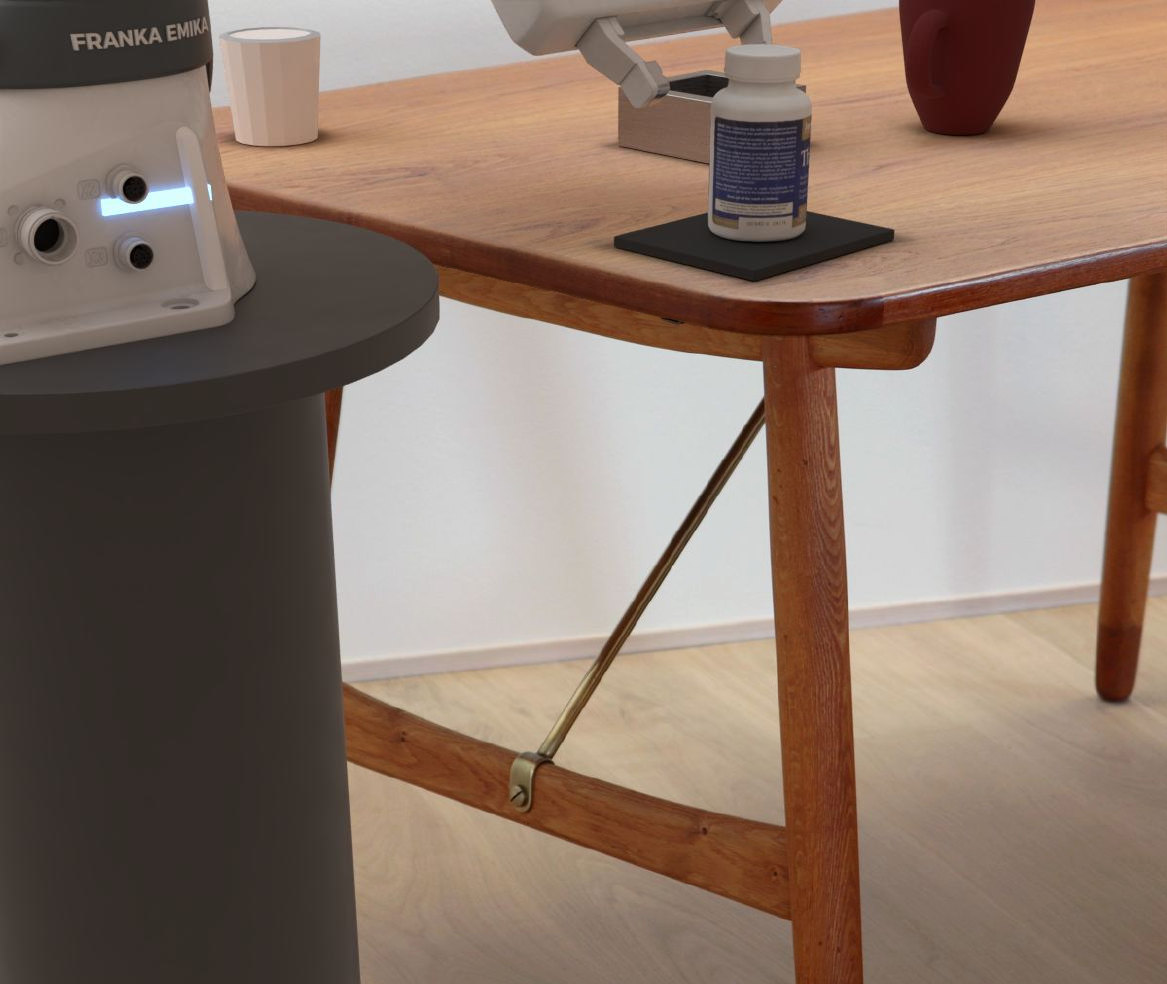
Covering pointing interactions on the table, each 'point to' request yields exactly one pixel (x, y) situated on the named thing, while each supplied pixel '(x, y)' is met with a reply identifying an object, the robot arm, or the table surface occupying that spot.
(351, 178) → the table surface
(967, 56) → the mug
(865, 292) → the table surface
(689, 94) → the box
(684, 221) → the mat
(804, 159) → the pill bottle
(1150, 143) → the table surface
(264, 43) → the beige cup
